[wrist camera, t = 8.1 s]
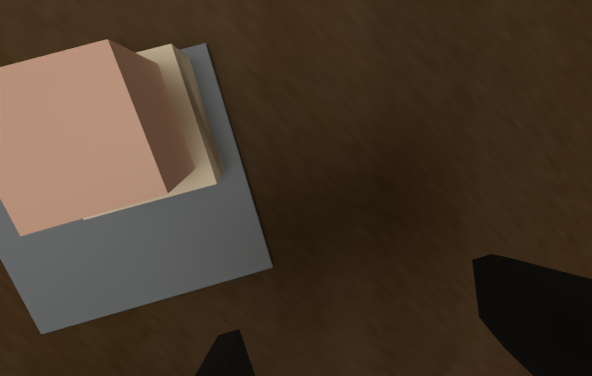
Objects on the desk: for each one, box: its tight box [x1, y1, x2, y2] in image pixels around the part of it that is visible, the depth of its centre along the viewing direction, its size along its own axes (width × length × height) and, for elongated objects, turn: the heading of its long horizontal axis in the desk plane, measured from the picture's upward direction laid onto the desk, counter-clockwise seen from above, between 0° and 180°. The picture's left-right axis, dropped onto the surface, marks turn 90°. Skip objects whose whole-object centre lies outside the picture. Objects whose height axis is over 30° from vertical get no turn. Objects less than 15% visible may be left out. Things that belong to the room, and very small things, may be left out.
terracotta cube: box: [0, 39, 195, 236], centre depth 11 cm, size 4×4×4 cm
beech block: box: [83, 44, 225, 220], centre depth 15 cm, size 6×6×4 cm
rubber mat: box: [0, 43, 273, 334], centre depth 18 cm, size 13×14×1 cm
